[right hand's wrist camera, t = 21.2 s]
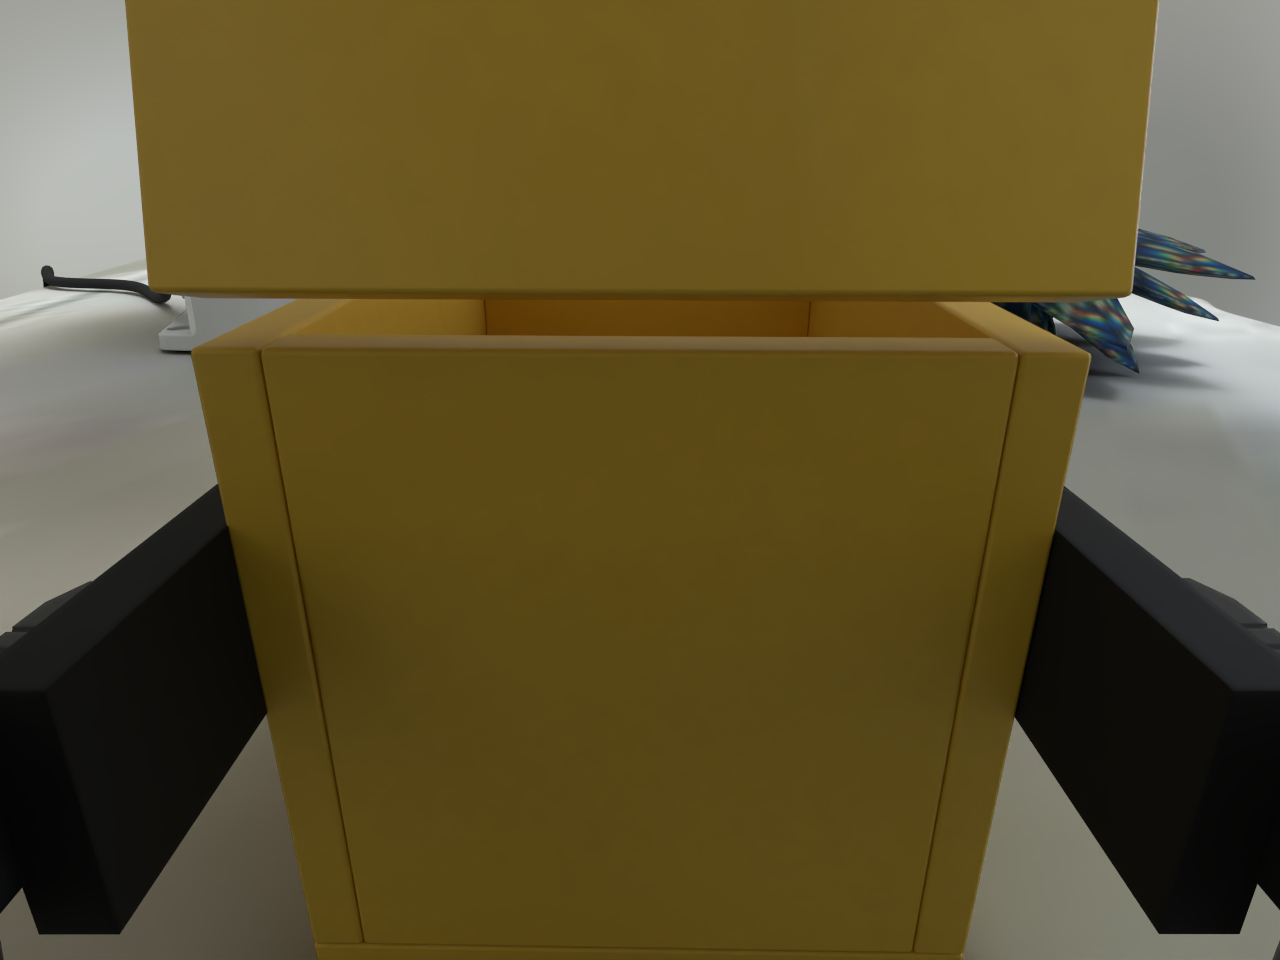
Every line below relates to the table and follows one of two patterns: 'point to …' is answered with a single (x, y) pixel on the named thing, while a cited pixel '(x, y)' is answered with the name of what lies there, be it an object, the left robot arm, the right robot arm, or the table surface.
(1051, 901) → the table surface
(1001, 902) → the table surface
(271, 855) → the table surface
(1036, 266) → the lid
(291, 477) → the chest
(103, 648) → the right robot arm
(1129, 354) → the decorative ornament
